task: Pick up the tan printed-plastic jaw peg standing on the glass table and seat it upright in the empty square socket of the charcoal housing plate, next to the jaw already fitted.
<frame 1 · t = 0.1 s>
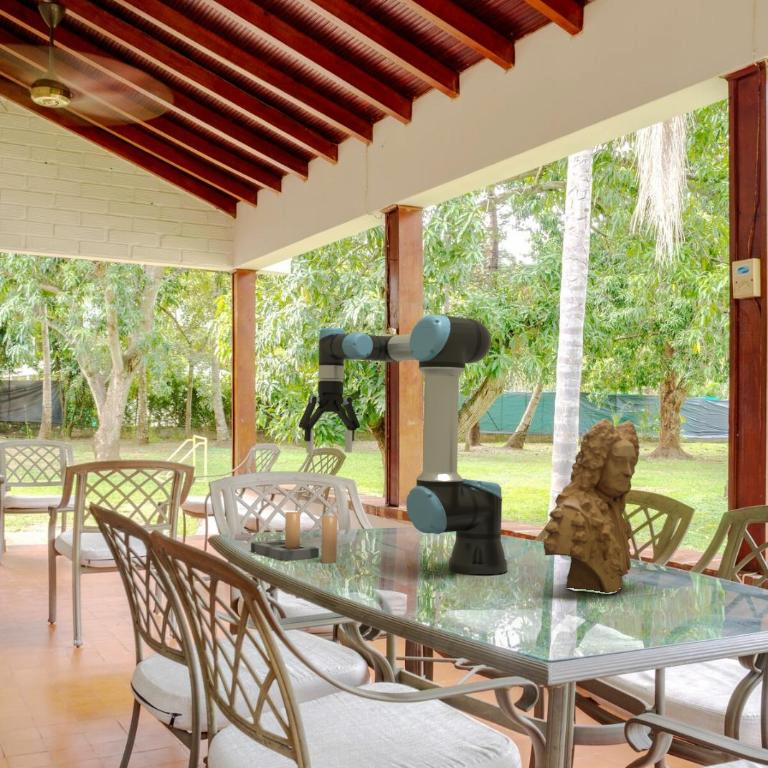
hand: (329, 452, 254), 28 cm above the table, fingers open, 13 cm apart
bust: (595, 589, 202), on the table
housing: (284, 554, 241), on the table
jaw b: (328, 561, 230), on the table
jaw a: (291, 556, 237), resting in housing
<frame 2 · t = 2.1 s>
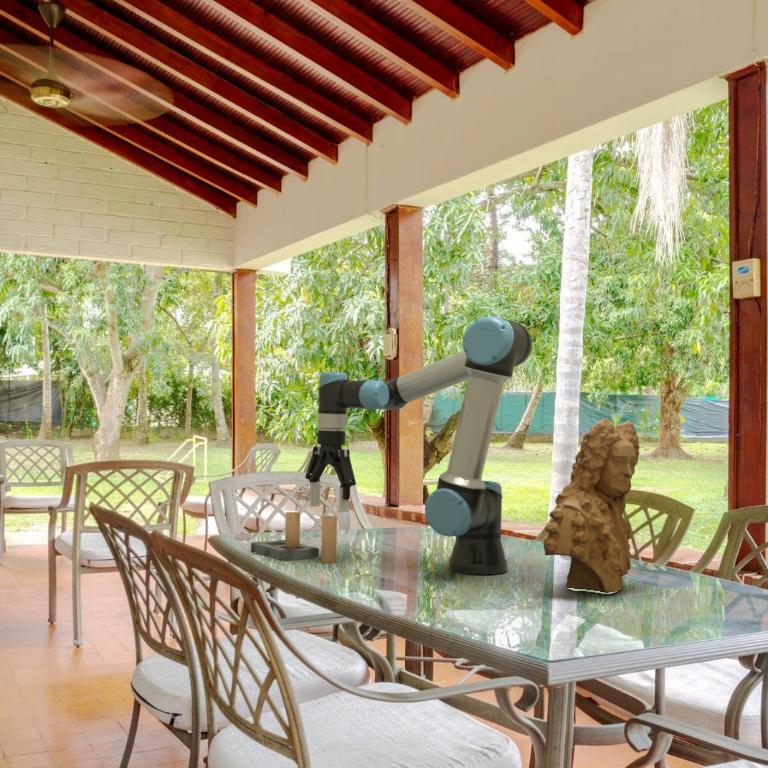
hand: (328, 509, 231), 14 cm above the table, fingers open, 13 cm apart
nothing on the table moved.
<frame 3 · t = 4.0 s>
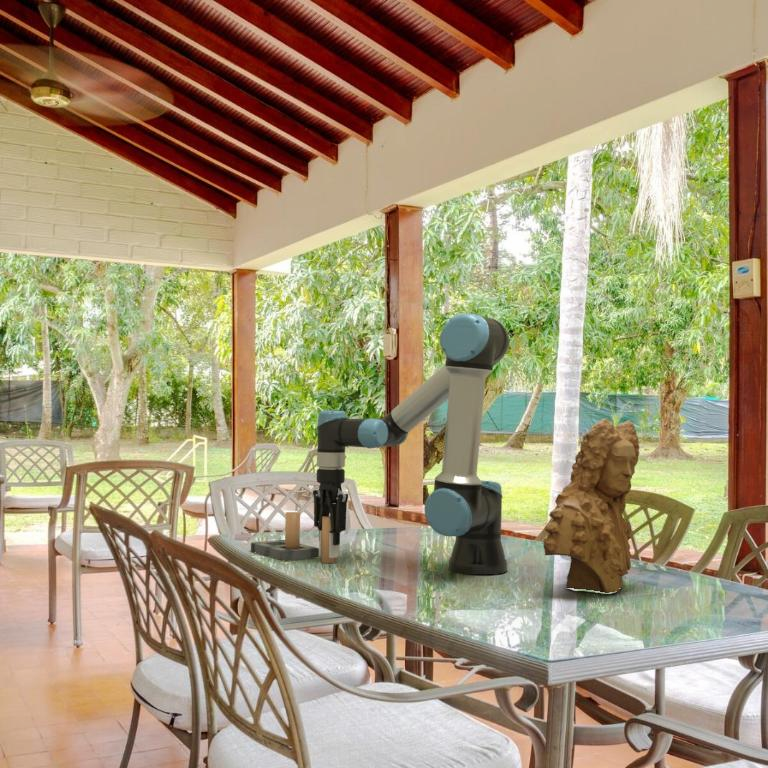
hand: (328, 555, 230), 2 cm above the table, fingers closed on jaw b, 4 cm apart
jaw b: (328, 561, 230), on the table, touching gripper
everything else where it was.
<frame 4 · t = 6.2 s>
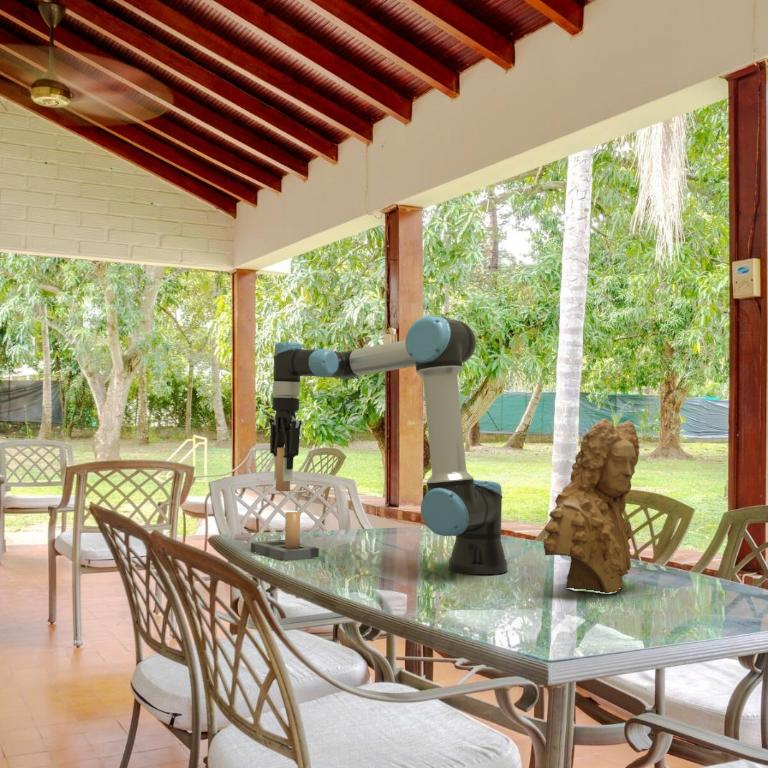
hand: (283, 480, 243), 21 cm above the table, fingers closed on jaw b, 4 cm apart
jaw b: (282, 490, 243), point 18 cm above the table, touching gripper
everything else where it was.
when the fingers open (4 cm above the table, at t = 8.7 s): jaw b stays where it is, resting in housing.
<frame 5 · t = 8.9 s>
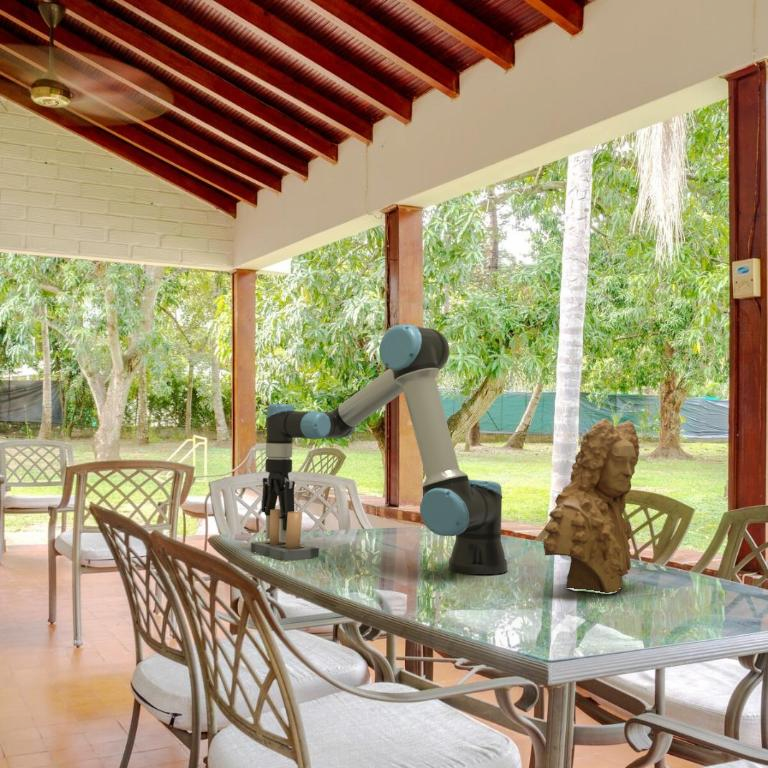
hand: (277, 539, 244), 4 cm above the table, fingers open, 7 cm apart
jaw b: (276, 552, 244), resting in housing
jaw a: (291, 556, 237), resting in housing, touching gripper
everything else where it was.
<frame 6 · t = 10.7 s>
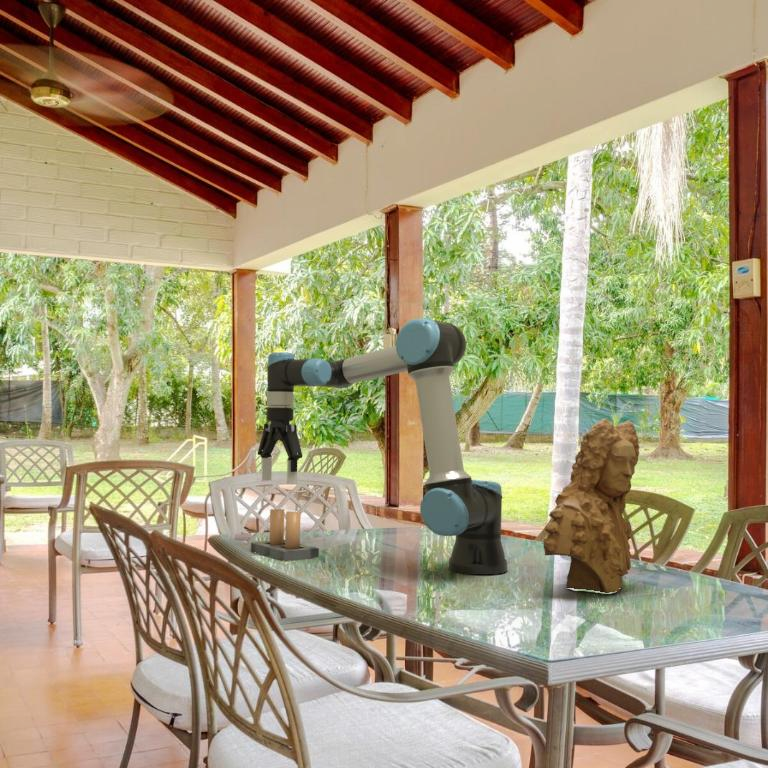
hand: (278, 482, 244), 20 cm above the table, fingers open, 13 cm apart
jaw a: (291, 555, 237), resting in housing, tilted 8°
everything else where it was.
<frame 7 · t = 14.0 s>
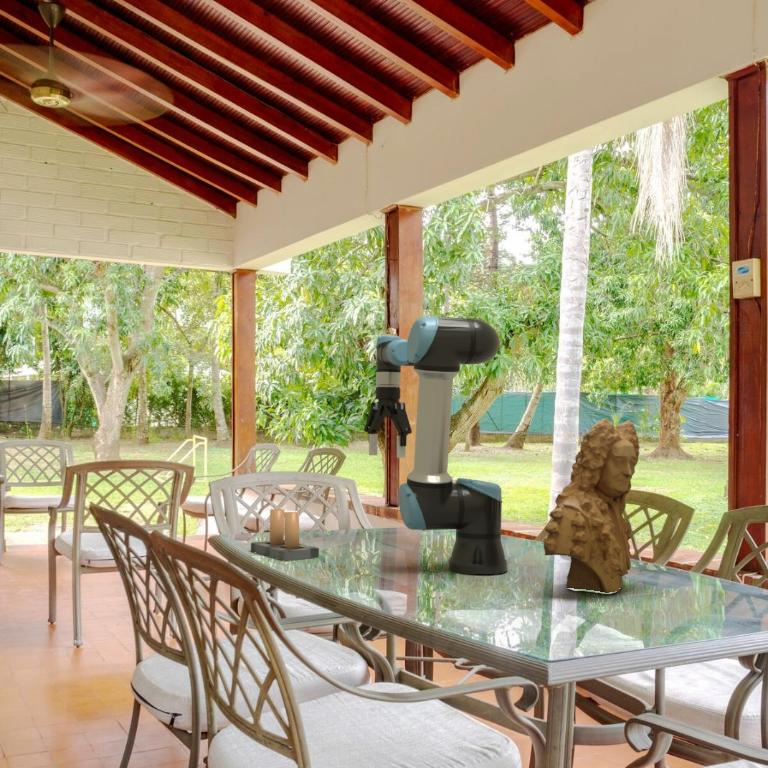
hand: (386, 456, 262), 27 cm above the table, fingers open, 13 cm apart
jaw a: (291, 556, 237), resting in housing
everything else where it was.
at the end: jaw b 0.1 cm from the target spot on the housing, point 0.0 cm above the housing's base; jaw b tilted 0°; the gripper is holding nothing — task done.
